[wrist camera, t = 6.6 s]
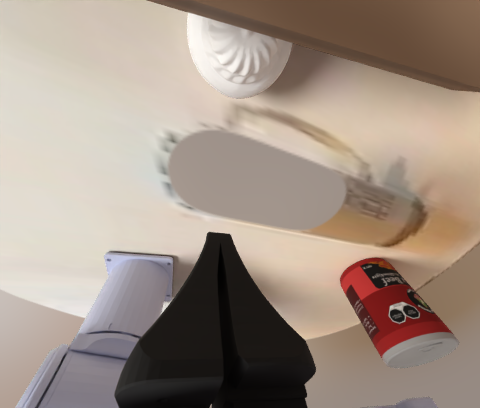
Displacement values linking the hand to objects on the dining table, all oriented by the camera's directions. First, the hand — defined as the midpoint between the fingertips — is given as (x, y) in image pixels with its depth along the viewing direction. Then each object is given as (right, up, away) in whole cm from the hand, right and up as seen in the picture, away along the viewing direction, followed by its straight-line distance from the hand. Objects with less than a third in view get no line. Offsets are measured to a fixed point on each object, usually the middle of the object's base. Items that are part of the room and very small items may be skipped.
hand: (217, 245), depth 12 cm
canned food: (+21, -8, +20) cm, 30 cm away
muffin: (+1, +14, +3) cm, 14 cm away
